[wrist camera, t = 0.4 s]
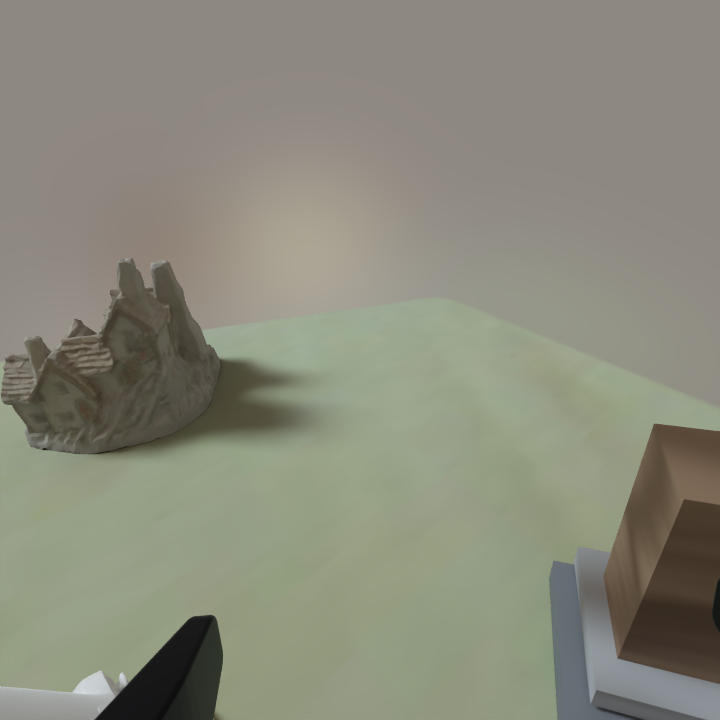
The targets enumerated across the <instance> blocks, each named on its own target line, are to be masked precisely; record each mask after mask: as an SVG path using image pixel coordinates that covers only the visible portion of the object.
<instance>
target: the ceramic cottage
mask: <svg viewBox="0 0 720 720" xmlns="http://www.w3.org/2000/svg"><path fill="white" fill-rule="evenodd" d="M151 276H152V279H153V284H152V285H148V286H144V282H143V279H142V276H141V273H140V272H139V270H138V269H136V266H135V263H134V261H133V259H132V258H131V259H123V260H118V265H117V285H118V289H114V290H110V295H111V297H112V302H111V305H110V306H109V308H108V309H107V310H105V312H104V314H103V315H104V316H105V318H104V319H105V322H104V324H103V326H102V327H101V331H100V333H99V334H97V333H95V332H94V331H92V330H91V329H89V328H88V327H86V326H85V325H84V324H83V323H82V322H81V321H80V320H77V319H74V320H73V322H72V324H71V326H70V328H69V331H68V333H67V334H66V336H65V337H64V338H63V340H62V341H61V343H60V344H59V345H58V346H57V347H56V348H53V349H50V350H49V349H48V348H47V346H46V345H45V344H44V342H43V341H42V338H41V337H39V336H36V337H34V338H31V337H27V338H25V339H24V343H25V346H26V350H27V353H28V354H10V355H8V356H6V357H5V361H6V362H5V365H4V367H3V368H4V371H5V374H4V376H3V381H2V391H1V398H2V402H3V403H4V404H7V405H12V406H13V408H14V409H15V411H16V412H17V414H18V415H19V416H20V417H21V419H22V420H23V421H24V423H25V424H26V426H27V428H26V431H25V433H26V436H27V440H28V443H29V445H30V446H32V447H34V448H38V447H39V448H40V449H43V448H46V449H48V450H53V451H64V452H69V451H70V452H71V453H75V452H76V453H78V454H85V453H87V454H90V453H92V454H94V453H100V452H105V451H106V450H107V451H112V450H116V449H118V448H122V447H124V448H125V446H133V445H139V444H142V443H146V442H150V441H153V440H154V439H157V438H158V437H160V438H162V437H165V436H168V435H170V434H172V433H174V432H177V431H179V430H180V429H182V428H183V427H185V426H186V425H188V424H189V423H191V422H192V421H194V420H195V419H196V418H197V417H198V416H199V415H201V414H202V413H203V412H204V411H205V410H206V409H207V408H208V407H209V405H210V402H212V397H213V394H214V389H215V386H216V384H217V382H218V376H219V374H220V369H221V363H220V361H219V358H218V356H217V354H216V352H215V350H214V348H212V347H211V346H210V345H207V344H206V341H205V339H204V336H203V333H202V331H201V328H200V326H199V325H198V323H197V322H196V321H195V320H194V319H193V318H192V316H191V314H190V312H189V309H188V307H187V305H186V302H185V298H184V293H183V289H182V288H181V286H180V285H179V283H178V282H177V280H176V278H175V276H174V273H173V270H172V268H171V266H170V263H169V262H168V261H166V260H161V261H155V262H152V263H151Z"/></svg>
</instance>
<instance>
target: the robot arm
mask: <svg viewBox="0 0 720 720" xmlns="http://www.w3.org/2000/svg"><path fill="white" fill-rule="evenodd" d="M712 618H713V622H714V624H715V626H716V628H717V630H718V631H719V633H720V578H719V579H718V580H717V584H716V589H715V595H714V600H713V605H712ZM222 664H223V650H222V644H221V639H220V634H219V628H218V623H217V620H216V618H215V616H213V615H205V616H194V617H191V618H190V619H189V620H188V621H187V622H186V623H185V624H184V625H183V626H182V627H181V628H180V629H179V630H178V631H177V632H176V633H175V634H174V635H173V636H172V637H171V639H170V640H169V641H168V642H167V643H166V644H165V645H164V646H163V647H162V648H161V649H160V650H159V651H158V652H157V653H156V654H155V656H154V657H153V658H152V659H151V660H150V661H149V662H148V663H147V664H146V665H145V666H144V667H143V668H142V669H141V670H140V671H139V673H138V674H137V675H136V676H135V677H134V678H133V679H132V680H131V681H130V682H129V683H128V684H127V685H126V686H125V687H124V688H123V690H122V691H121V692H120V693H119V694H118V695H117V696H116V697H115V698H114V699H113V700H112V701H111V702H110V703H109V704H108V705H107V707H106V708H105V709H104V710H103V711H102V712H101V713H100V714H99V715H98V716H97V717H96V718H95V719H94V720H213V718H214V712H215V706H216V700H217V694H218V688H219V683H220V677H221V671H222Z"/></svg>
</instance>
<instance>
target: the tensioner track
mask: <svg viewBox="0 0 720 720" xmlns="http://www.w3.org/2000/svg"><path fill="white" fill-rule="evenodd" d="M549 579H550V596H551V612H552V629H553V646H554V663H555V680H556V697H557V713H558V720H644V719H641V718H637V717H634V716H630V715H627V714H623V713H619V712H616V711H612V710H609V709H605V708H601V707H598V706H594V705H591V704H590V696H589V687H588V678H587V670H586V661H585V652H584V643H583V634H582V625H581V617H580V608H579V599H578V590H577V581H576V573H575V565H572V564H567V563H562V562H557V561H553V565H552V569H551V573H550V578H549Z"/></svg>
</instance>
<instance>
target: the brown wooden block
mask: <svg viewBox="0 0 720 720" xmlns="http://www.w3.org/2000/svg"><path fill="white" fill-rule="evenodd" d="M574 564H575V573H576V581H577V590H578V599H579V608H580V617H581V625H582V634H583V643H584V652H585V661H586V670H587V678H588V687H589V696H590V704H591V705H594V706H598V707H601V708H605V709H609V710H612V711H616V712H619V713H623V714H627V715H630V716H634V717H637V718H641V719H644V720H720V633H719V631H718V630H717V628H716V626H715V624H714V622H713V618H712V605H713V600H714V595H715V589H716V584H717V580H718V579H719V578H720V431H711V430H703V429H695V428H686V427H678V426H670V425H662V424H654V426H653V429H652V432H651V435H650V438H649V441H648V444H647V447H646V450H645V453H644V456H643V459H642V462H641V465H640V467H639V470H638V473H637V476H636V479H635V482H634V485H633V488H632V491H631V494H630V497H629V500H628V503H627V506H626V509H625V512H624V515H623V518H622V521H621V524H620V527H619V530H618V533H617V536H616V539H615V542H614V545H613V548H612V551H611V553H609V552H604V551H599V550H593V549H588V548H583V547H578V549H577V553H576V557H575V560H574Z"/></svg>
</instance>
